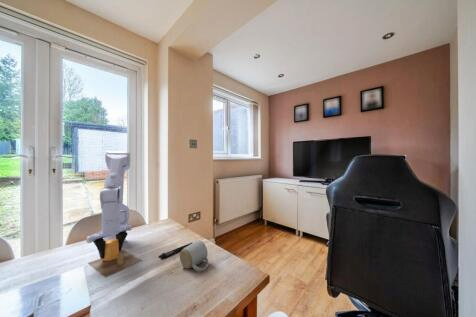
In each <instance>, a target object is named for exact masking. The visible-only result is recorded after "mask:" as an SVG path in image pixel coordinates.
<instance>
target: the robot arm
mask: <svg viewBox="0 0 476 317" xmlns="http://www.w3.org/2000/svg"><path fill="white" fill-rule="evenodd" d="M104 158H105V164H106V168H107V169H108V170H109V174H107V175H106V176H105V179H104V180H105V181H104V185H103V189H101V190H100V193H99V202H100V209H101V230H100V231H98V232H95V233H94V234H93V233H92V234H90V235H88V236H86V243H87V244H91V243H94V246H95V247H96V248H97V251H98V254H99V259H100V258H102V259H103V258H104V257H105V243H106V241H107V240H110V239H118V240H119V252H121V250H122V247H123V244H124V243H125V242H126V238H127V237H128V234H129V233H128V232H127V231H132V230H133V228H132V227H133V226H132V224H128V223H129V222H130V207H129V206H128V205H126V204H124V183H125V182H124V180H125V179H124V178H125V173H126V171H128V170H130V168H131V152H130V151H110V150H107V151H106V152H105V156H104Z"/></svg>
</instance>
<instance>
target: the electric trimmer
mask: <svg viewBox="0 0 476 317" xmlns="http://www.w3.org/2000/svg"><path fill="white" fill-rule="evenodd" d="M192 243H193V242H189V243H186V244H184V245H182V246H180V247H177V248H174V249H172V250H169V251H167V252H163V253H161V254H160V255H159V256H158V257H157V258H159V259H160V260H161V261H163V260H166V259H168V258H171V257H173V256H174V255H176V254H180V252H181V251H182V250H183V249H184V248H185V247H187V246H189V245H190V244H192Z"/></svg>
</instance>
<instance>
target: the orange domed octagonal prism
mask: <svg viewBox="0 0 476 317" xmlns="http://www.w3.org/2000/svg"><path fill="white" fill-rule="evenodd" d="M118 254H119V240H118V239H110V240H107V241H106V243H105V257H104V258H103V259H102V260H103V261H111V260H113V259H116V258H117V255H118Z"/></svg>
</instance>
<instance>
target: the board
mask: <svg viewBox="0 0 476 317" xmlns="http://www.w3.org/2000/svg"><path fill="white" fill-rule="evenodd" d="M140 262H143V260H142V259H141V258H139V257H137V256H135V255H133V254H131V253H130V252H128V251H126V250H124V249H121V252H119V254H118V255H117V258H116V259H113V260H111V261H103V260H102V258H100V257H99V258H98V259H95V260H92V261H89V262H88V263H87V264H88V265H89V266H90V267H92V268H93V269H94V270H96V272H98V273H99V274H100V275H101V276H103V277H104V278H105V279H106V278H108V277H110V276H113V275H114V274H117V273H119V272H121V271H123V270H125V269H128V268H129V267H131V266H134V265H136V264H139V263H140Z"/></svg>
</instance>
